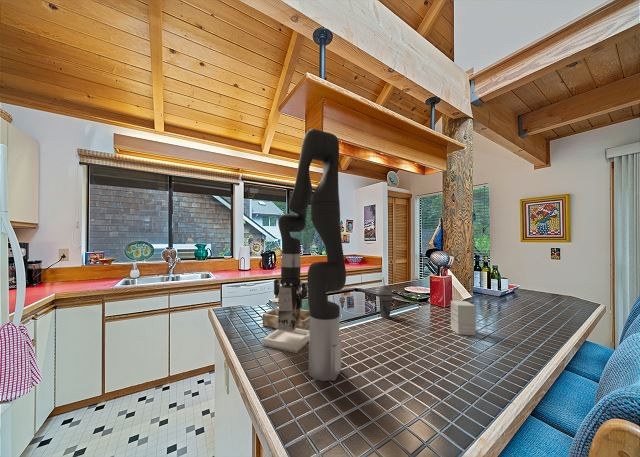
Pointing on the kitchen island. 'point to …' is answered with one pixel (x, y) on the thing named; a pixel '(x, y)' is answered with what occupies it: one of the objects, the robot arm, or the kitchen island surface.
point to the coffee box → (288, 308)
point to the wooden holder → (272, 320)
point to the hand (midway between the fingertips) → (289, 307)
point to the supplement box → (463, 317)
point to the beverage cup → (385, 301)
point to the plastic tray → (287, 340)
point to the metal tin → (276, 310)
